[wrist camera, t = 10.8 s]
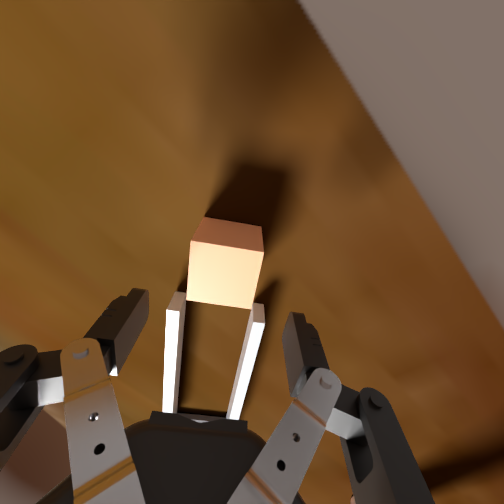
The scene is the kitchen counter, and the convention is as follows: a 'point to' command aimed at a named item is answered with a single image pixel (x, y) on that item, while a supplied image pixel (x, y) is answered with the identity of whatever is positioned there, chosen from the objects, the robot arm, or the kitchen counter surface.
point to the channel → (174, 354)
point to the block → (224, 263)
